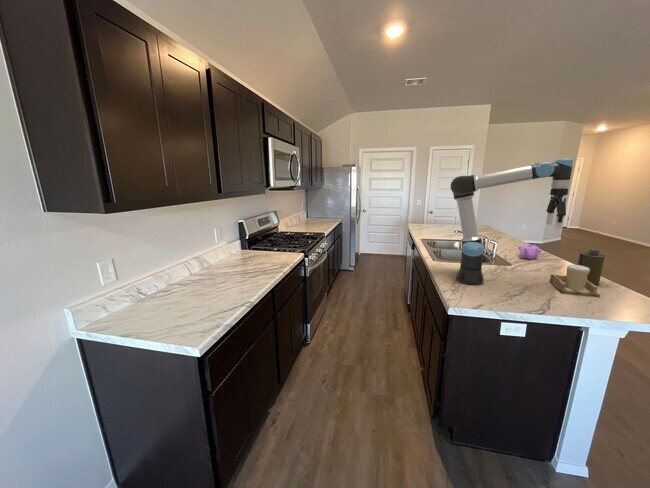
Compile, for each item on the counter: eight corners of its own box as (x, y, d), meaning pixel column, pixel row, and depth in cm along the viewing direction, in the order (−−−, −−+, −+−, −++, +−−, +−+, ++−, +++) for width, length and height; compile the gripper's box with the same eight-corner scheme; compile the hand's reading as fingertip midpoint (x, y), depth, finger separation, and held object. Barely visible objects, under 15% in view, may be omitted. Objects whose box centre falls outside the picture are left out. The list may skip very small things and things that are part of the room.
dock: (561, 293, 150) (562, 284, 148) (549, 282, 166) (550, 274, 165) (599, 297, 144) (601, 288, 143) (583, 285, 160) (584, 277, 159)
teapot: (543, 261, 206) (545, 247, 203) (522, 260, 209) (524, 246, 206) (533, 256, 220) (535, 242, 218) (514, 255, 223) (516, 242, 221)
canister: (594, 280, 166) (601, 248, 162) (602, 286, 157) (610, 252, 153) (571, 278, 171) (577, 247, 166) (578, 284, 162) (584, 251, 157)
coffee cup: (590, 291, 147) (594, 270, 145) (570, 290, 149) (574, 269, 147) (578, 285, 156) (582, 264, 154) (559, 284, 158) (563, 264, 155)
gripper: (578, 188, 138) (571, 230, 143) (559, 187, 161) (553, 223, 166) (560, 188, 141) (553, 229, 146) (543, 187, 164) (538, 222, 168)
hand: (553, 226), depth 156 cm, fingers open, 13 cm apart
